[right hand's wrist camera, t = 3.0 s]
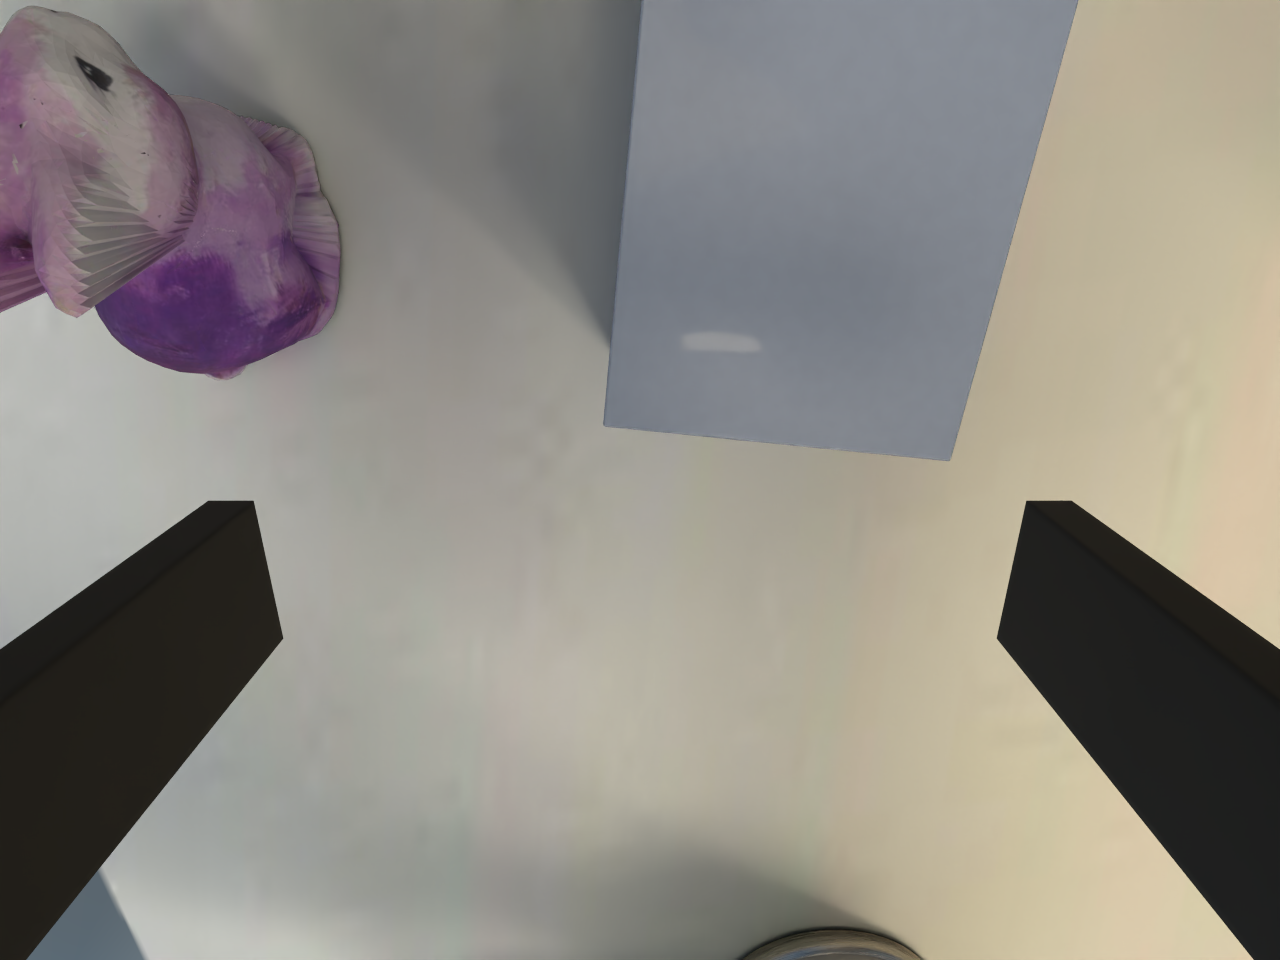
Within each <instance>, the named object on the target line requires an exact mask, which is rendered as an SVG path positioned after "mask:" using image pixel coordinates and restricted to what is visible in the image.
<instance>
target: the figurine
mask: <svg viewBox="0 0 1280 960" xmlns="http://www.w3.org/2000/svg"><path fill="white" fill-rule="evenodd" d="M338 226H339V225H338V223H337V221H336V219H335V217H334V215H333V213H332V211H331V208H330V206H329V204H328V201H327V199H326V197H324V196H323V194H322V193H321V191H320V184H319V181H318V177H317V171H316V166H315V160H314V157H313V153H312V151H311V149H310V147H309V145H308V143H307V141H306V140H305V138H304V137H302V136H301V135H298V134H297V133H296V132H295V131H294V130H291V129H288V128H285V127H280V128H278V127H277V125H273V126H272V125H271V124H270V123H266V124H265V123H264V121H260V122H259V121H258V120H257V119H251V118H250V117H248V118H245V117H243V116H240V117H239V116H237V115H236V114H234V113H233V112H231V111H229V110H228V109H226V108H224V107H222V106H219V105H217V104H214V103H211V102H208V101H205V100H202V99H199V98H194V97H188V96H182V95H168V94H167V93H166V91H165V90H164V89H162V88H161V87H160V86H159V85H157V84H156V83H155V82H153V81H152V80H151V79H149V78H148V77H147V76H145V75H144V74H143V73H142V72H141V71H140V70H139V69H138V68H137V66H136V65H135V64H134V63H133V62H132V61H131V59H130V58H129V57H128V55H127V54H126V53H125V51H124V50H123V49H122V47H121V46H120V45H119V44H118V43H117V42H116V40H115V39H114V38H113V37H112V36H111V35H109V34H108V33H107V32H106V31H105V30H104V29H103V28H102V27H100V26H98V25H96V24H94V23H92V22H90V21H88V20H86V19H84V18H81V17H79V16H76V15H74V14H71V13H69V12H59V11H53V10H50V9H46V8H43V7H37V6H27V7H25V8H23V9H20V10H18V11H17V12H15V13H14V14H13V15H12V17H11V18H10V19H9V21H8V22H7V24H6V25H5V27H4V29H3V31H2V32H1V34H0V312H2V311H5V310H7V309H9V308H11V307H14V306H16V305H18V304H21V303H23V302H25V301H27V300H30V299H32V298H34V297H36V296H39V295H41V294H43V293H46V292H47V293H48V295H49V297H50V299H51V300H52V302H53V304H54V306H55V307H56V308H57V309H59V310H61V311H62V312H64V313H66V314H69V315H71V316H74V317H76V318H77V317H79V316H81V315H82V314H84V313H85V312H87V311H88V310H89V309H91V308H92V307H94V306H95V308H96V310H97V313H98V315H99V317H100V318H101V320H102V321H103V323H104V324H105V326H106V327H107V329H108V330H109V332H110V333H111V335H112V336H113V337H114V338H115V339H116V340H117V341H118V342H119V343H120V344H122V345H123V346H124V347H126V348H127V349H129V350H130V351H132V352H133V353H134V354H136V355H138V356H140V357H142V358H144V359H145V360H147V361H149V362H152V363H155V364H157V365H160V366H163V367H165V368H169V369H172V370H176V371H179V372H187V373H200V374H205V375H206V376H208V377H210V378H213V379H215V380H228V379H231V378H234V377H236V376H237V375H239V374H241V373H242V371H243V370H244V369H245V367H246V365H248V364H251V363H253V362H256V361H258V360H261V359H263V358H265V357H267V356H269V355H271V354H273V353H275V352H277V351H280V350H282V349H284V348H286V347H288V346H291V345H293V344H295V343H296V342H298V341H300V340H303V339H306V338H309V337H311V336H314V335H316V334H318V333H319V332H320V331H321V330H322V329H323V327H324V326H325V325H326V323H327V322H328V321H329V320H330V318H331V317H332V315H333V313H334V310H335V307H336V303H337V298H338V293H339V271H340V252H341V251H340V242H339V232H338Z"/></svg>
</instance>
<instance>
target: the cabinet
mask: <svg viewBox="0 0 1280 960" xmlns="http://www.w3.org/2000/svg"><path fill="white" fill-rule="evenodd" d="M1077 4H1078V0H642V1H641V12H640V23H639V34H638V45H637V56H636V67H635V78H634V89H633V100H632V111H631V122H630V134H629V145H628V156H627V167H626V178H625V189H624V200H623V211H622V222H621V233H620V244H619V255H618V266H617V277H616V288H615V299H614V310H613V321H612V332H611V344H610V355H609V366H608V377H607V388H606V399H605V410H604V421H603V425H604V426H605V427H614V428H624V429H634V430H644V431H654V432H664V433H674V434H684V435H694V436H704V437H714V438H723V439H733V440H743V441H753V442H763V443H773V444H783V445H793V446H803V447H813V448H823V449H833V450H843V451H853V452H862V453H872V454H882V455H892V456H902V457H912V458H922V459H932V460H942V461H950V460H951V456H952V453H953V449H954V446H955V442H956V438H957V435H958V431H959V428H960V424H961V420H962V417H963V413H964V410H965V406H966V403H967V399H968V395H969V392H970V388H971V385H972V381H973V377H974V374H975V370H976V367H977V363H978V359H979V356H980V352H981V349H982V345H983V341H984V338H985V334H986V331H987V327H988V324H989V320H990V316H991V313H992V309H993V306H994V302H995V298H996V295H997V291H998V288H999V284H1000V280H1001V277H1002V273H1003V270H1004V266H1005V262H1006V259H1007V255H1008V252H1009V248H1010V245H1011V241H1012V237H1013V234H1014V230H1015V227H1016V223H1017V219H1018V216H1019V212H1020V209H1021V205H1022V201H1023V198H1024V194H1025V191H1026V187H1027V184H1028V180H1029V176H1030V173H1031V169H1032V166H1033V162H1034V158H1035V155H1036V151H1037V148H1038V144H1039V140H1040V137H1041V133H1042V130H1043V126H1044V122H1045V119H1046V115H1047V112H1048V108H1049V105H1050V101H1051V97H1052V94H1053V90H1054V87H1055V83H1056V79H1057V76H1058V72H1059V69H1060V65H1061V61H1062V58H1063V54H1064V51H1065V47H1066V44H1067V40H1068V36H1069V33H1070V29H1071V26H1072V22H1073V18H1074V15H1075V11H1076V8H1077Z"/></svg>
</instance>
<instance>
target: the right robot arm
mask: <svg viewBox="0 0 1280 960" xmlns="http://www.w3.org/2000/svg"><path fill="white" fill-rule="evenodd" d="M282 639H283V635H282V630H281V626H280V621H279V616H278V612H277V607H276V603H275V598H274V593H273V589H272V584H271V579H270V575H269V570H268V565H267V561H266V556H265V552H264V547H263V542H262V538H261V533H260V528H259V524H258V519H257V515H256V510H255V505H254V501H207V502H206V503H205V504H203V505H202V506H200V507H199V508H198V509H196V510H195V511H193V512H192V513H191V514H189V515H188V516H186V517H185V518H184V519H182V520H181V521H179V522H178V523H177V524H175V525H174V526H172V527H171V528H170V529H168V530H167V531H165V532H164V533H163V534H161V535H160V536H158V537H157V538H156V539H154V540H153V541H151V542H150V543H149V544H147V545H146V546H144V547H143V548H142V549H140V550H139V551H137V552H136V553H135V554H133V555H132V556H130V557H129V558H128V559H126V560H125V561H123V562H122V563H121V564H119V565H118V566H116V567H115V568H114V569H112V570H111V571H109V572H108V573H107V574H105V575H104V576H102V577H101V578H100V579H98V580H97V581H95V582H94V583H93V584H91V585H90V586H88V587H87V588H86V589H84V590H83V591H81V592H80V593H79V594H77V595H76V596H74V597H73V598H72V599H70V600H69V601H67V602H66V603H65V604H63V605H62V606H60V607H59V608H58V609H56V610H55V611H53V612H52V613H51V614H49V615H48V616H46V617H45V618H44V619H42V620H41V621H39V622H38V623H37V624H35V625H34V626H32V627H31V628H30V629H28V630H27V631H25V632H24V633H23V634H21V635H20V636H18V637H17V638H16V639H14V640H13V641H11V642H10V643H9V644H7V645H6V646H4V647H3V648H2V649H0V960H26V959H27V958H28V957H29V955H30V954H31V953H32V952H33V950H34V949H35V948H36V947H37V945H38V944H39V943H40V942H41V940H42V939H43V938H44V937H45V935H46V934H47V933H48V932H49V930H50V929H51V928H52V927H53V925H54V924H55V923H56V922H57V920H58V919H59V918H60V917H61V915H62V914H63V913H64V912H65V910H66V909H67V908H68V907H69V905H70V904H71V903H72V902H73V901H74V899H75V898H76V897H77V895H78V894H79V893H80V892H81V891H82V889H83V888H84V887H85V886H86V884H87V883H88V882H89V880H90V879H91V878H92V877H93V876H94V874H95V873H96V872H97V871H98V869H99V868H100V867H101V866H102V864H103V863H104V862H105V861H106V859H107V858H108V857H109V856H110V854H111V853H112V852H113V851H114V849H115V848H116V847H117V846H118V844H119V843H120V842H121V841H122V839H123V838H124V837H125V836H126V834H127V833H128V832H129V831H130V829H131V828H132V827H133V826H134V824H135V823H136V822H137V821H138V819H139V818H140V817H141V816H142V814H143V813H144V812H145V811H146V809H147V808H148V807H149V806H150V804H151V803H152V802H153V801H154V799H155V798H156V797H157V796H158V794H159V793H160V792H161V791H162V789H163V788H164V787H165V786H166V784H167V783H168V782H169V781H170V779H171V778H172V777H173V776H174V774H175V773H176V772H177V771H178V769H179V768H180V767H181V766H182V764H183V763H184V762H185V761H186V759H187V758H188V757H189V756H190V754H191V753H192V752H193V751H194V749H195V748H196V747H197V746H198V744H199V743H200V742H201V741H202V739H203V738H204V737H205V736H206V734H207V733H208V732H209V731H210V729H211V728H212V727H213V726H214V724H215V723H216V722H217V721H218V719H219V718H220V717H221V716H222V714H223V713H224V712H225V711H226V709H227V708H228V707H229V706H230V704H231V703H232V702H233V701H234V699H235V698H236V697H237V696H238V694H239V693H240V692H241V691H242V689H243V688H244V687H245V686H246V684H247V683H248V682H249V681H250V679H251V678H252V677H253V676H254V674H255V673H256V672H257V671H258V669H259V668H260V667H261V666H262V664H263V663H264V662H265V661H266V659H267V658H268V657H269V656H270V654H271V653H272V652H273V651H274V649H275V648H276V647H277V646H278V644H279V643H280V642H281V641H282ZM997 639H998V641H999V642H1000V643H1001V644H1002V646H1003V647H1004V648H1005V649H1006V651H1007V652H1008V653H1009V654H1010V656H1011V657H1012V658H1013V659H1014V661H1015V662H1016V663H1017V664H1018V666H1019V667H1020V668H1021V669H1022V671H1023V672H1024V673H1025V674H1026V676H1027V677H1028V678H1029V679H1030V681H1031V682H1032V683H1033V684H1034V686H1035V687H1036V688H1037V689H1038V691H1039V692H1040V693H1041V694H1042V696H1043V697H1044V698H1045V699H1046V701H1047V702H1048V703H1049V704H1050V706H1051V707H1052V708H1053V709H1054V711H1055V712H1056V713H1057V714H1058V716H1059V717H1060V718H1061V719H1062V721H1063V722H1064V723H1065V724H1066V726H1067V727H1068V728H1069V729H1070V731H1071V732H1072V733H1073V734H1074V736H1075V737H1076V738H1077V739H1078V741H1079V742H1080V743H1081V744H1082V746H1083V747H1084V748H1085V749H1086V751H1087V752H1088V753H1089V754H1090V756H1091V757H1092V758H1093V759H1094V761H1095V762H1096V763H1097V764H1098V766H1099V767H1100V768H1101V769H1102V771H1103V772H1104V773H1105V774H1106V776H1107V777H1108V778H1109V779H1110V781H1111V782H1112V783H1113V784H1114V786H1115V787H1116V788H1117V789H1118V791H1119V792H1120V793H1121V794H1122V796H1123V797H1124V798H1125V799H1126V801H1127V802H1128V803H1129V804H1130V806H1131V807H1132V808H1133V809H1134V811H1135V812H1136V813H1137V814H1138V816H1139V817H1140V818H1141V819H1142V821H1143V822H1144V823H1145V824H1146V826H1147V827H1148V828H1149V829H1150V831H1151V832H1152V833H1153V834H1154V836H1155V837H1156V838H1157V839H1158V841H1159V842H1160V843H1161V844H1162V846H1163V847H1164V848H1165V849H1166V851H1167V852H1168V853H1169V854H1170V856H1171V857H1172V858H1173V859H1174V861H1175V862H1176V863H1177V864H1178V866H1179V867H1180V868H1181V869H1182V871H1183V872H1184V873H1185V874H1186V876H1187V877H1188V878H1189V879H1190V881H1191V882H1192V883H1193V884H1194V886H1195V887H1196V888H1197V889H1198V891H1199V892H1200V893H1201V894H1202V896H1203V897H1204V898H1205V899H1206V901H1207V902H1208V903H1209V904H1210V906H1211V907H1212V908H1213V909H1214V911H1215V912H1216V913H1217V914H1218V915H1219V917H1220V918H1221V919H1222V920H1223V922H1224V923H1225V924H1226V925H1227V927H1228V928H1229V929H1230V930H1231V932H1232V933H1233V934H1234V935H1235V937H1236V938H1237V939H1238V940H1239V942H1240V943H1241V944H1242V945H1243V947H1244V948H1245V949H1246V950H1247V952H1248V953H1249V954H1250V955H1251V957H1252V958H1253V959H1254V960H1280V649H1278V648H1277V647H1276V646H1274V645H1273V644H1271V643H1270V642H1269V641H1267V640H1266V639H1264V638H1263V637H1262V636H1260V635H1259V634H1257V633H1256V632H1255V631H1253V630H1252V629H1250V628H1249V627H1248V626H1246V625H1245V624H1243V623H1242V622H1241V621H1239V620H1238V619H1236V618H1235V617H1234V616H1232V615H1231V614H1229V613H1228V612H1227V611H1225V610H1224V609H1222V608H1221V607H1220V606H1218V605H1217V604H1215V603H1214V602H1213V601H1211V600H1210V599H1208V598H1207V597H1206V596H1204V595H1203V594H1201V593H1200V592H1199V591H1197V590H1196V589H1194V588H1193V587H1192V586H1190V585H1189V584H1187V583H1186V582H1185V581H1183V580H1182V579H1180V578H1179V577H1178V576H1176V575H1175V574H1173V573H1172V572H1171V571H1169V570H1168V569H1166V568H1165V567H1164V566H1162V565H1161V564H1159V563H1158V562H1157V561H1155V560H1154V559H1152V558H1151V557H1150V556H1148V555H1147V554H1145V553H1144V552H1143V551H1141V550H1140V549H1138V548H1137V547H1136V546H1134V545H1133V544H1131V543H1130V542H1129V541H1127V540H1126V539H1124V538H1123V537H1122V536H1120V535H1119V534H1117V533H1116V532H1115V531H1113V530H1112V529H1110V528H1109V527H1108V526H1106V525H1105V524H1103V523H1102V522H1101V521H1099V520H1098V519H1096V518H1095V517H1094V516H1092V515H1091V514H1089V513H1088V512H1087V511H1085V510H1084V509H1082V508H1081V507H1080V506H1078V505H1077V504H1075V503H1074V502H1073V501H1026V505H1025V510H1024V515H1023V519H1022V524H1021V528H1020V533H1019V538H1018V542H1017V547H1016V552H1015V556H1014V561H1013V565H1012V570H1011V575H1010V579H1009V584H1008V589H1007V593H1006V598H1005V603H1004V607H1003V612H1002V616H1001V621H1000V626H999V630H998V635H997ZM742 960H921V959H920V958H919V957H918V956H917V955H915V954H914V953H913V952H912V951H910V950H909V949H907V948H906V947H904V946H902V945H900V944H898V943H896V942H894V941H892V940H889V939H887V938H884V937H881V936H878V935H874V934H870V933H865V932H859V931H850V930H821V931H812V932H806V933H801V934H796V935H792V936H789V937H785V938H782V939H779V940H777V941H774V942H772V943H769V944H767V945H765V946H763V947H761V948H759V949H757V950H755V951H754V952H752V953H751V954H749V955H748V956H746V957H745V958H744V959H742Z"/></svg>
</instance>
